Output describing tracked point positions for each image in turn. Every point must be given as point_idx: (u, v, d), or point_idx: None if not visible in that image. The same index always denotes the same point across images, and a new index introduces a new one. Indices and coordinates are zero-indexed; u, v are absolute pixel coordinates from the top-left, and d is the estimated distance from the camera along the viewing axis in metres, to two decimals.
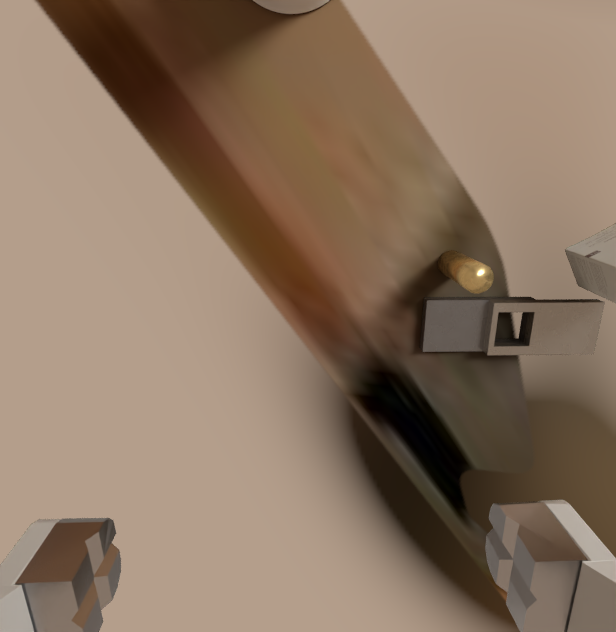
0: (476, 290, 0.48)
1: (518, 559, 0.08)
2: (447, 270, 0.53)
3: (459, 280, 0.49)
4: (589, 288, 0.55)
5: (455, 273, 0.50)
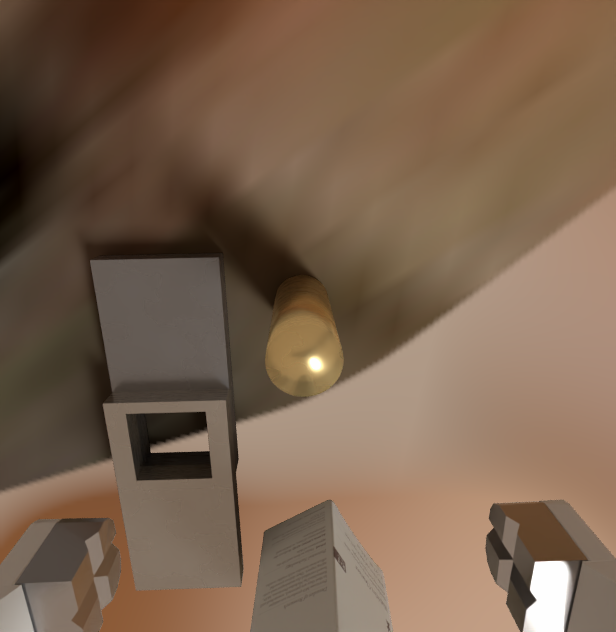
0: (274, 360, 0.18)
1: (518, 558, 0.08)
2: (298, 290, 0.23)
3: (291, 315, 0.19)
4: (266, 558, 0.29)
5: (302, 305, 0.20)
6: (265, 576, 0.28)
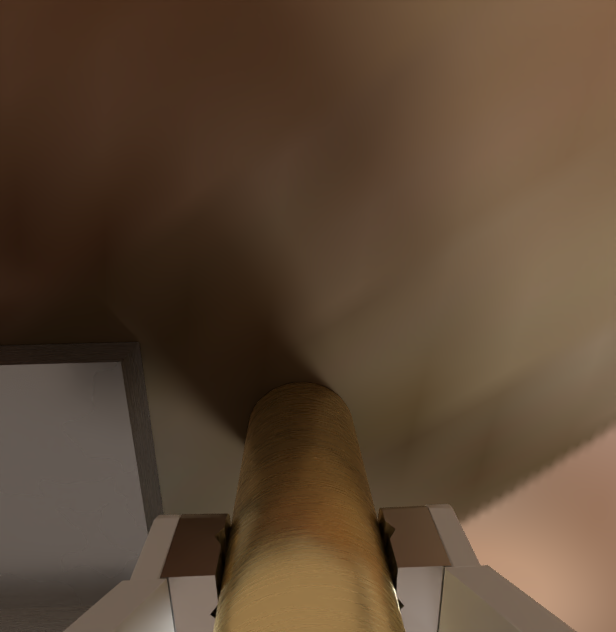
0: None
1: (391, 564, 0.08)
2: (294, 455, 0.10)
3: None
4: None
5: (306, 558, 0.07)
6: None
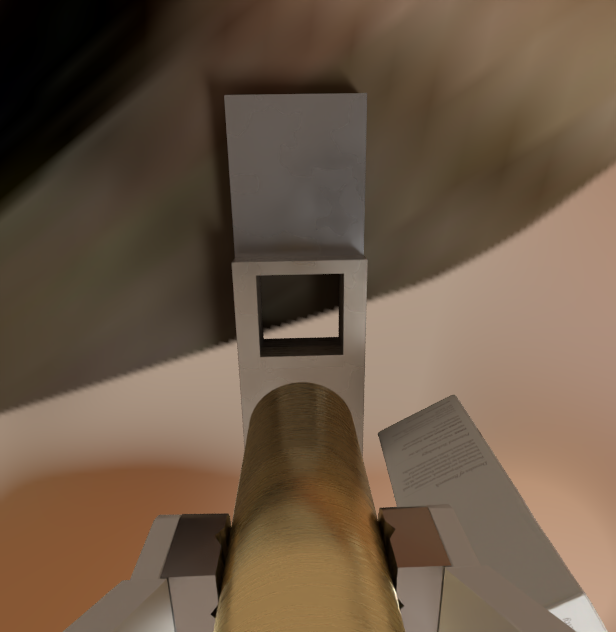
0: None
1: (390, 564, 0.08)
2: (295, 455, 0.10)
3: None
4: (391, 452, 0.27)
5: (306, 557, 0.07)
6: (398, 466, 0.25)
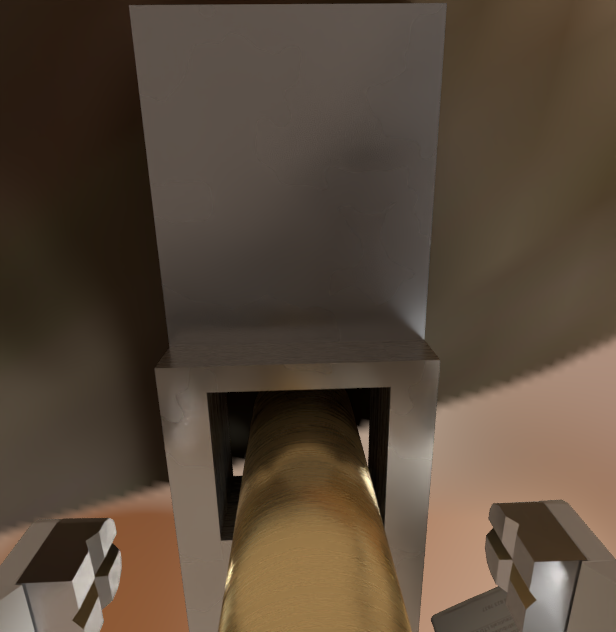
0: None
1: (517, 559, 0.08)
2: (297, 429, 0.11)
3: (280, 576, 0.07)
4: None
5: (309, 511, 0.08)
6: None
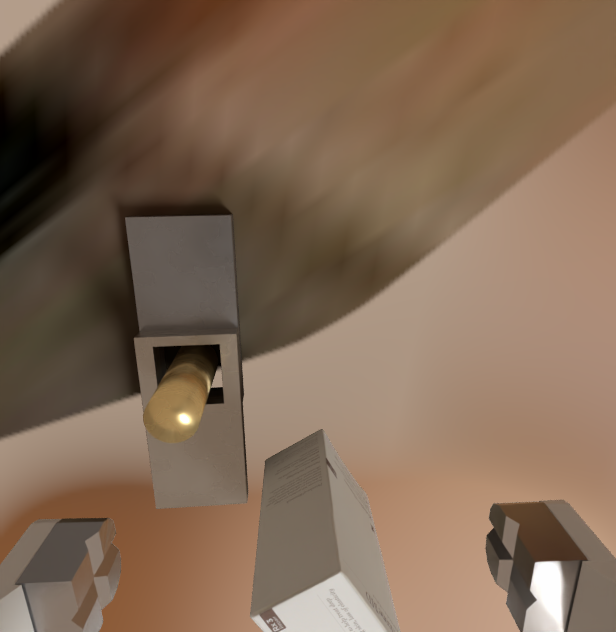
0: (149, 418, 0.26)
1: (518, 559, 0.08)
2: (184, 358, 0.30)
3: (165, 384, 0.27)
4: (268, 476, 0.35)
5: (178, 374, 0.28)
6: (269, 487, 0.33)
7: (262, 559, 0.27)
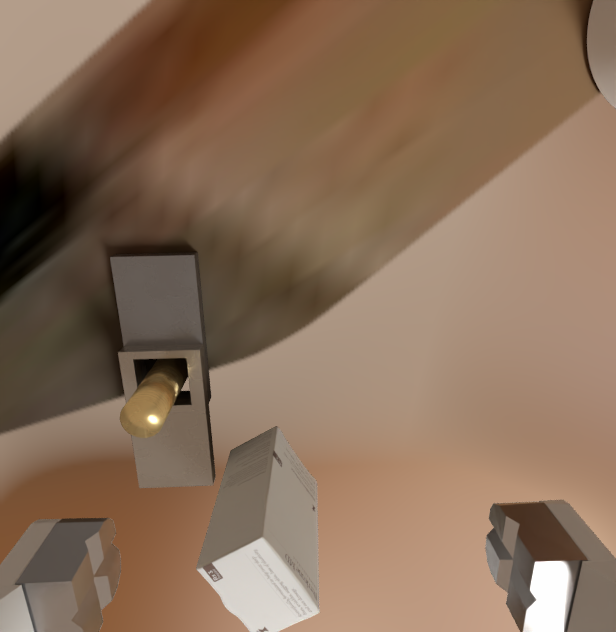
0: (124, 419, 0.33)
1: (518, 559, 0.08)
2: (157, 369, 0.38)
3: (138, 392, 0.34)
4: (230, 464, 0.42)
5: (149, 383, 0.36)
6: (228, 473, 0.41)
7: (212, 528, 0.34)
